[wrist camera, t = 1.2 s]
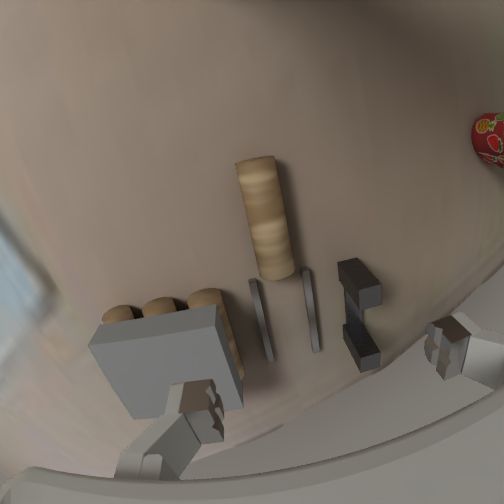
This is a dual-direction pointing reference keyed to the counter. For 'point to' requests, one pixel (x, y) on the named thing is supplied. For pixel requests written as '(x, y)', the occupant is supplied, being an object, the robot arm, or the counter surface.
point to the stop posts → (359, 311)
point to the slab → (166, 358)
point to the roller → (266, 217)
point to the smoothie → (489, 138)
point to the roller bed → (223, 314)
